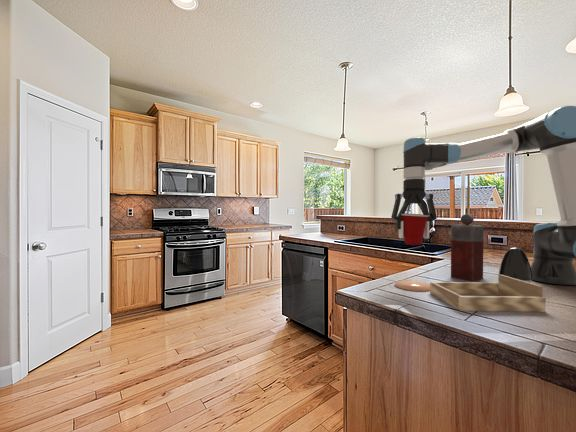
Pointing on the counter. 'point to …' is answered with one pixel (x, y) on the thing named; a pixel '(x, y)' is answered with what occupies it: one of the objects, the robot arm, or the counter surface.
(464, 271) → the red canister with knob
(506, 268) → the black bullet-shaped dome
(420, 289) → the saucer
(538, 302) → the tray
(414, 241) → the plastic cup
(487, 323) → the counter surface
